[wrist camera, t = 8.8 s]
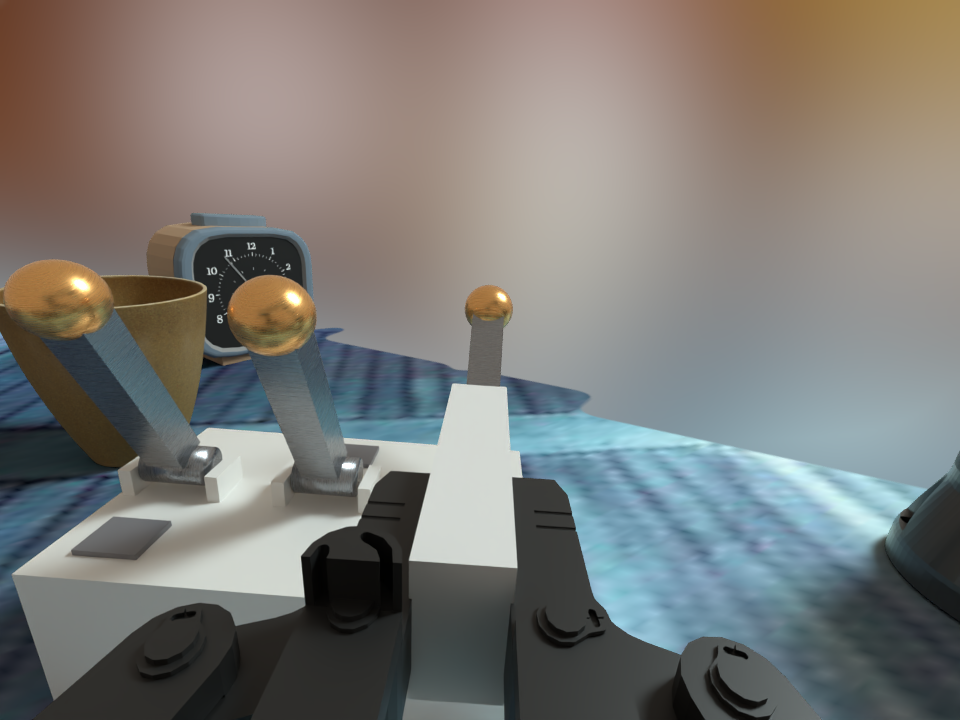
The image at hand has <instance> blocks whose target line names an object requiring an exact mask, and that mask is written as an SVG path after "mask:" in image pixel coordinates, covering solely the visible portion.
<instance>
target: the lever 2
mask: <svg viewBox="0 0 960 720" xmlns="http://www.w3.org/2000/svg"><path fill="white" fill-rule="evenodd" d="M512 312H513V306H512V302H511V299H510V297H509V295H508V294H507V293H506V292H505V291H504V290H503V289H501V288H499V287H497V286H493V285H485V286H481V287H479V288H477V289H475V290H474V291H473V292H472V293H471V294H470V295H469V297H468V298H467V301H466V305H465V314H466V317H467V320H468V322H469V323H470V325H471V326H472V330H471V341H470V353H469V365H468V376H467V385H481V386H497V387H500V375H501V357H502V341H503V328H504V327H505V326H506V325H507V324H508V323H509V321H510V319H511V317H512Z"/></svg>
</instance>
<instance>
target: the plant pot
mask: <svg viewBox="0 0 960 720" xmlns="http://www.w3.org/2000/svg"><path fill="white" fill-rule="evenodd" d="M100 277H101V278H102V279H103V280H104V281H105V282H106V283H107V285H108V286H109V288H110V290H111V292H112V295H113V299H114V309H115V310H116V312H117V314H118V315H119V317H120V318H121V320H122V321H123V323H124V324H125V326H126V328H127V329H128V331H129V332H130V334H131V335H132V337H133V338H134V340H135V341H136V343H137V345H138V346H139V348H140V349H141V351H142V352H143V354H144V355H145V357H146V359H147V360H148V362H149V363H150V365H151V366H152V368H153V369H154V371H155V372H156V374H157V376H158V377H159V379H160V380H161V382H162V383H163V385H164V386H165V388H166V389H167V391H168V393H169V394H170V396H171V397H172V399H173V400H174V402H175V403H176V405H177V407H178V408H179V410H180V411H181V413H182V414H183V416H184V417H185V419H186V420H187V422H188V424H189V423H190V420H191V416H192V413H193V409H194V404H195V400H196V396H197V391H198V386H199V381H200V374H201V368H202V361H203V352H204V343H205V328H206V308H207V287H206V286H205V285H204V284H202V283H200V282H196V281H192V280H187V279H182V278H174V277H163V276H141V275H139V276H138V275H133V276H132V275H114V276H100ZM3 291H4V288H0V332H1V334H2V336H3V338H4V340H5V341H6V343H7V345H8V347H9V349H10V350H11V352H12V354H13V356H14V357H15V359H16V361H17V363H18V364H19V366H20V368H21V369H22V371H23V373H24V374H25V376H26V377H27V379H28V380H29V382H30V383H31V385H32V386H33V388H34V389H35V391H36V392H37V394H38V395H39V396H40V398H41V399H42V401H43V402H44V403H45V405H46V406H47V408H48V409H49V410H50V412H51V413H52V414H53V415H54V417H55V418H56V419H57V421H58V422H59V423H60V424H61V425H62V427H63V428H64V429H65V430H66V431H67V433H68V434H69V435H70V436H71V437H72V439H73V440H74V441H75V442H76V443H77V444H78V445H79V446H80V447H81V448H82V449H83V450H84V452H85V453H86V454H87V455H88V456H89V457H90V458H91V459H92V460H93V461H94V462H96V463H97V464H100V465H103V466H108V467H123V466H125V465H126V464H127V463H129V462H130V461H132V460H133V459H135V458H136V457H138V455H137V454H136V452H135V451H134V450H133V449H132V448H131V446H130V445H129V444H128V443H127V442H126V440H125V439H124V438H123V437H122V436H121V434H120V433H119V432H118V431H117V430H116V428H115V427H114V426H113V425H112V424H111V422H110V421H109V420H108V419H107V418H106V416H105V415H104V414H103V413H102V412H101V410H100V409H99V408H98V407H97V406H96V404H95V403H94V402H93V401H92V400H91V398H90V397H89V396H88V395H87V394H86V392H85V391H84V390H83V389H82V388H81V387H80V385H79V384H78V383H77V382H76V381H75V379H74V378H73V377H72V376H71V375H70V373H69V372H68V371H67V370H66V369H65V367H64V366H63V365H62V364H61V363H60V361H59V360H58V359H57V358H56V357H55V355H54V354H53V353H52V352H51V351H50V349H49V348H48V347H47V346H46V345H45V343H44V342H43V341H42V340H41V339H40V337H38V336H36V335H33V334H31V333H29V332H27V331H25V330H24V329H22V328H21V327H20V326H18V325H17V324H16V323H15V322H14V321H13V320H12V319H11V317H10V316H9V315H8V313H7V311H6V309H5V306H4V302H3Z"/></svg>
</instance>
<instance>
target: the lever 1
mask: <svg viewBox="0 0 960 720" xmlns="http://www.w3.org/2000/svg"><path fill="white" fill-rule="evenodd" d="M3 302H4V306H5V309H6V311H7V313H8V315H9V316H10V317H11V319H12V320H13V321H14V322H15V323H16V324H17V325H18V326H20V327H21V328H22V329H24V330H25V331H27V332H29V333H31V334H33V335H36V336H38V337H40V339H41V340H42V341H43V342H44V343H45V345H46V346H47V347H48V348H49V349H50V351H51V352H52V353H53V354H54V355H55V357H56V358H57V359H58V360H59V361H60V363H61V364H62V365H63V366H64V367H65V369H66V370H67V371H68V372H69V373H70V375H71V376H72V377H73V378H74V379H75V381H76V382H77V383H78V384H79V385H80V387H81V388H82V389H83V390H84V391H85V392H86V394H87V395H88V396H89V397H90V398H91V400H92V401H93V402H94V403H95V404H96V406H97V407H98V408H99V409H100V410H101V412H102V413H103V414H104V415H105V416H106V418H107V419H108V420H109V421H110V422H111V424H112V425H113V426H114V427H115V428H116V430H117V431H118V432H119V433H120V434H121V436H122V437H123V438H124V439H125V440H126V442H127V443H128V444H129V445H130V446H131V448H132V449H133V450H134V451H135V452H136V454H137V455H138V456H139V457H140V458H139V462H138V474H139V476H140V478H141V479H142V480H144V481H148V482H161V483H174V484H188V485H201V486H205V481H204V476H205V475H206V474H208V473H209V472H210V471H211V470H212V469H213V468H214V467H215V466H216V465H218V464H219V463H220V462H221V461H222V453H221V451H220V449H219V448H218V447H211V446H198V445H199V444H200V441H199V439H198V438H197V436H196V434H195V433H194V431H193V430H192V428H191V427H190V425H189V424H188V422H187V420H186V419H185V417H184V416H183V414H182V413H181V411H180V410H179V408H178V407H177V405H176V403H175V402H174V400H173V399H172V397H171V396H170V394H169V393H168V391H167V389H166V388H165V386H164V385H163V383H162V382H161V380H160V379H159V377H158V376H157V374H156V372H155V371H154V369H153V368H152V366H151V365H150V363H149V362H148V360H147V359H146V357H145V355H144V354H143V352H142V351H141V349H140V348H139V346H138V345H137V343H136V341H135V340H134V338H133V337H132V335H131V334H130V332H129V331H128V329H127V328H126V326H125V324H124V323H123V321H122V320H121V318H120V317H119V315H118V314H117V312H116V310H115V309H114V299H113V295H112V292H111V290H110V288H109V286H108V285H107V283H106V282H105V281H104V280H103V279H102V278H101V277H100V276H99V275H98V274H97V273H95V272H94V271H92V270H91V269H89V268H87V267H85V266H83V265H80V264H77V263H74V262H70V261H65V260H42V261H37V262H33V263H30V264H28V265H25V266H24V267H22V268H20V269H18V270H17V271H16V272H15V273H14V274H12V275H11V277H10V278H9V279H8V281H7V282H6V285H5V287H4V291H3Z"/></svg>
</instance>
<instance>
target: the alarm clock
mask: <svg viewBox="0 0 960 720" xmlns="http://www.w3.org/2000/svg"><path fill="white" fill-rule="evenodd" d="M191 221H192V223H183V224H175V225H168V226H165V227H163V228H162V229H160V230H159V231H157V232H156V233H155V234H154V235H153V237H152V238H151V240H150V241H149V245H148V250H147V267H148V273H149V276H163V277H174V278H182V279H187V280H192V281H196V282H200V283H202V284H204V285H205V286H206V287H207V308H206V328H205V343H204V352H203V357H205V358H207V359H209V360H211V361H214V362H216V363H218V364H221V365H223V366H224V365H228V364H232V363H237V362H241V361H245V360H249V359H251V357H250V355H249V353H248V350H247V348H246V347H244V346H243V345H242V344H241V343H240V342H239V341H238V340H237V339H236V338H235V336H234V335H233V333H232V331H231V329H230V327H229V323H228V318H227V309H228V305H229V301H230V299H231V297H232V295H233V294H234V292H235V291H236V290H237V288H238V287H240V286H241V285H242V284H243V283H245V282H246V281H248V280H250V279H252V278H255V277H258V276H263V275H277V276H282V277H285V278H288V279H291V280H293V281H295V282H296V283H298V284H299V285H300V286H302V287H303V288H304V289H305V290H306V291H307V293H308V294H309V295H310V297H311V298H312V300H313V283H312V265H311V257H310V253H309V250H308V247H307V245H306V244H305V242H304V241H303V239H302V238H301V237H299V236H298V235H297V234H295V233H294V232H293V231H288V230H283V229H278V228H272V227H266V219H265V217H263V216H254V215H232V214H231V215H230V214H204V213H192V214H191Z"/></svg>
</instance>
